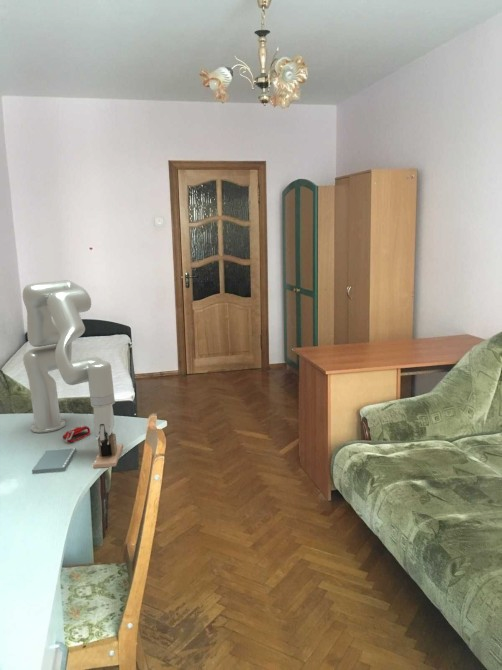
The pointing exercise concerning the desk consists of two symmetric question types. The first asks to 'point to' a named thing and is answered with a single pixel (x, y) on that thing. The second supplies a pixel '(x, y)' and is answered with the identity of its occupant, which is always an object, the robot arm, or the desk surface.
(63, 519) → the desk surface
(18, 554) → the desk surface
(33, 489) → the desk surface
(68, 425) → the desk surface
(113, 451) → the stub
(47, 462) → the board
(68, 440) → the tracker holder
